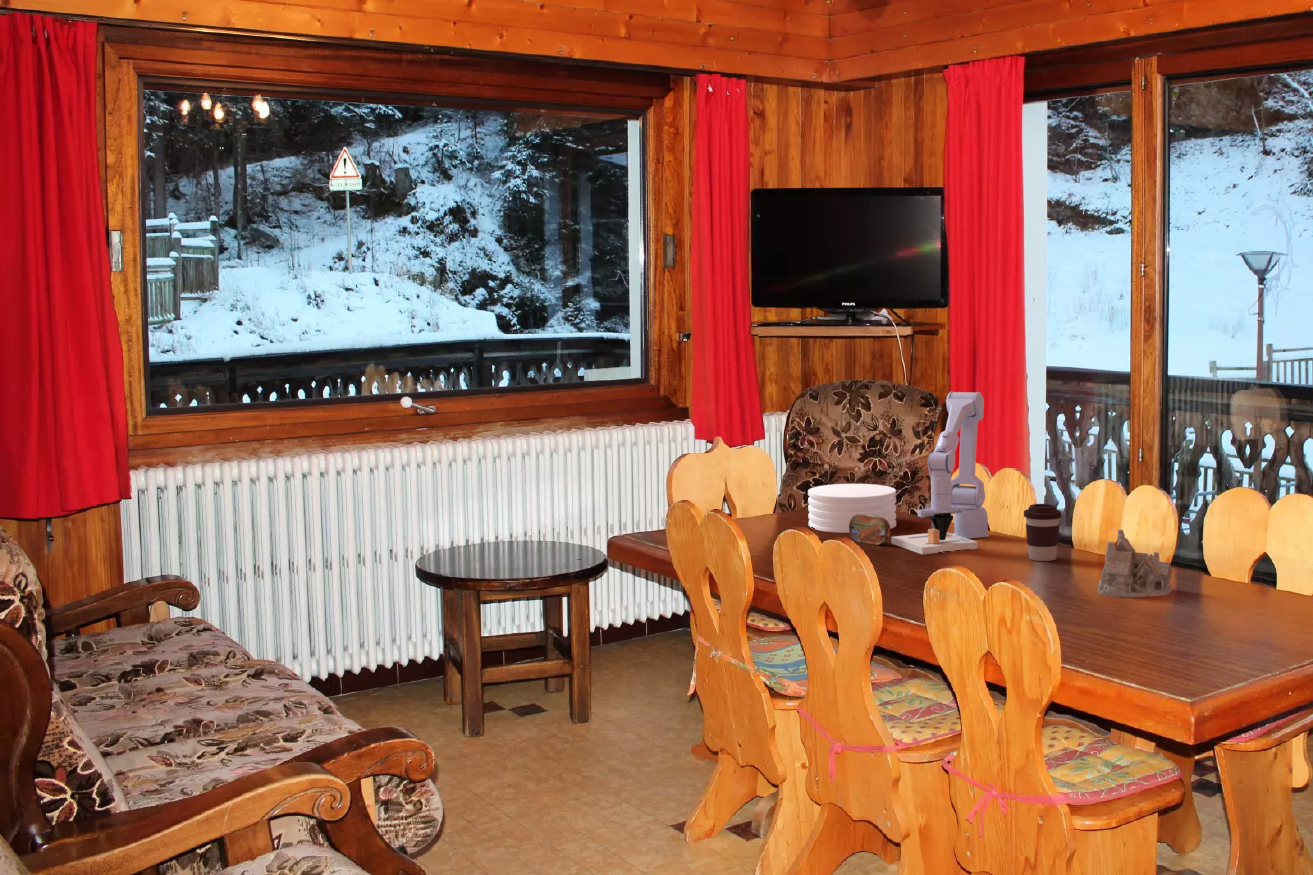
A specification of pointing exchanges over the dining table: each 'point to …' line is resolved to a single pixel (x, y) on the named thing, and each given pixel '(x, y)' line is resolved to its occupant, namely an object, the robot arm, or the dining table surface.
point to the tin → (869, 529)
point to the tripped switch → (933, 536)
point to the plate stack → (849, 505)
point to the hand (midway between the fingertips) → (941, 539)
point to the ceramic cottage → (1133, 572)
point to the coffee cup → (1042, 531)
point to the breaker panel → (924, 547)
